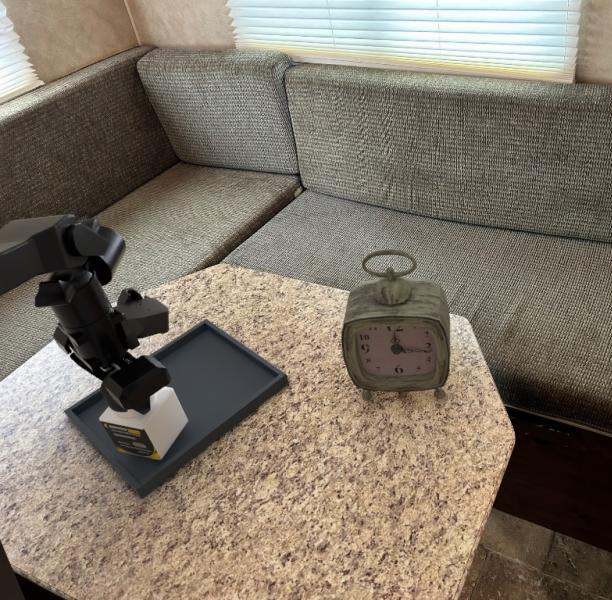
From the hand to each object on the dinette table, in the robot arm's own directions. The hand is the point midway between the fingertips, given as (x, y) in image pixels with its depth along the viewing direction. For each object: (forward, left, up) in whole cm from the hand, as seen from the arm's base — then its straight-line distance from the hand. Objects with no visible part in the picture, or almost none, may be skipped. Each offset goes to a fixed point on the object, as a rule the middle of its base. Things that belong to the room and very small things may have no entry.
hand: (134, 400), depth 81 cm
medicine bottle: (0, 0, -8) cm, 8 cm away
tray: (+7, +5, -10) cm, 12 cm away
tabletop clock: (+30, -21, -10) cm, 38 cm away
